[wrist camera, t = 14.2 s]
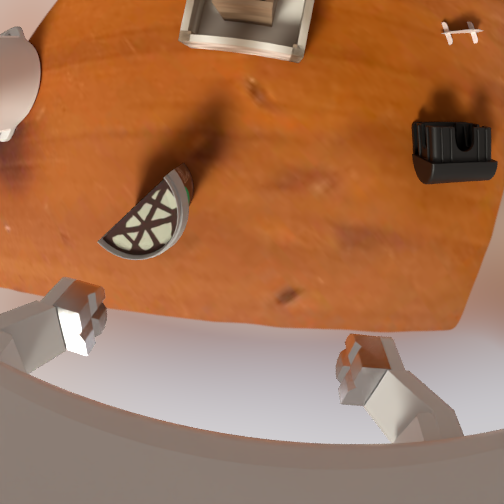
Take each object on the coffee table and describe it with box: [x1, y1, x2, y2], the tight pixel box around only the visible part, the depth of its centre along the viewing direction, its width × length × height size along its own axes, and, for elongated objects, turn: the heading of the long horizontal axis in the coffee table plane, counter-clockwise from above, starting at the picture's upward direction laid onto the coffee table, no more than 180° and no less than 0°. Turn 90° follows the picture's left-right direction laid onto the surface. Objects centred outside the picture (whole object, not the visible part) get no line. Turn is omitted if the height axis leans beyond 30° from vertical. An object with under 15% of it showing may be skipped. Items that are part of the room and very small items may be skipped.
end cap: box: [412, 122, 498, 184], centre depth 32 cm, size 10×7×7 cm
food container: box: [98, 163, 194, 260], centre depth 37 cm, size 12×6×10 cm, turn 128°
